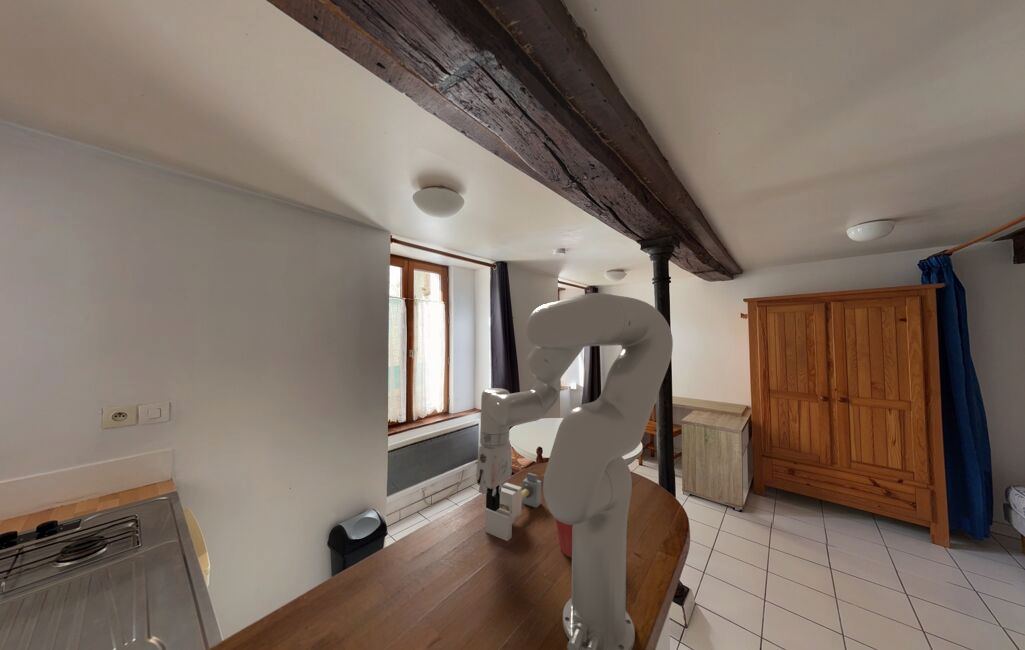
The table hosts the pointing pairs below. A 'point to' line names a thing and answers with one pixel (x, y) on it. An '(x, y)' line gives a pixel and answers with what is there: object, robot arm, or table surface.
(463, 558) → the table surface
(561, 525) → the flower pot
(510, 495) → the grooved sliding block
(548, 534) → the table surface
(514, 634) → the table surface
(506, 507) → the rail
